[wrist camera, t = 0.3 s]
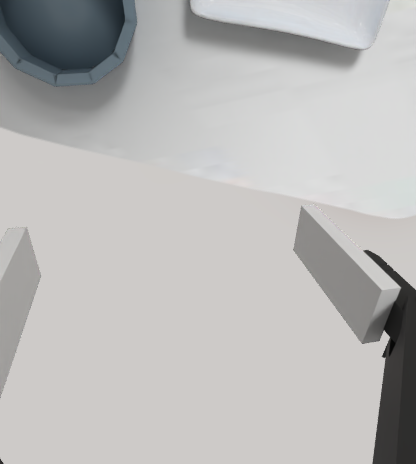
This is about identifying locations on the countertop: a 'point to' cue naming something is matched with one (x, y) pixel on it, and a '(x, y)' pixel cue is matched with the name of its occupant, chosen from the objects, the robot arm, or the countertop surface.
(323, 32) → the salad plate
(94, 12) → the bowl
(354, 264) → the robot arm
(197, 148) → the countertop surface
